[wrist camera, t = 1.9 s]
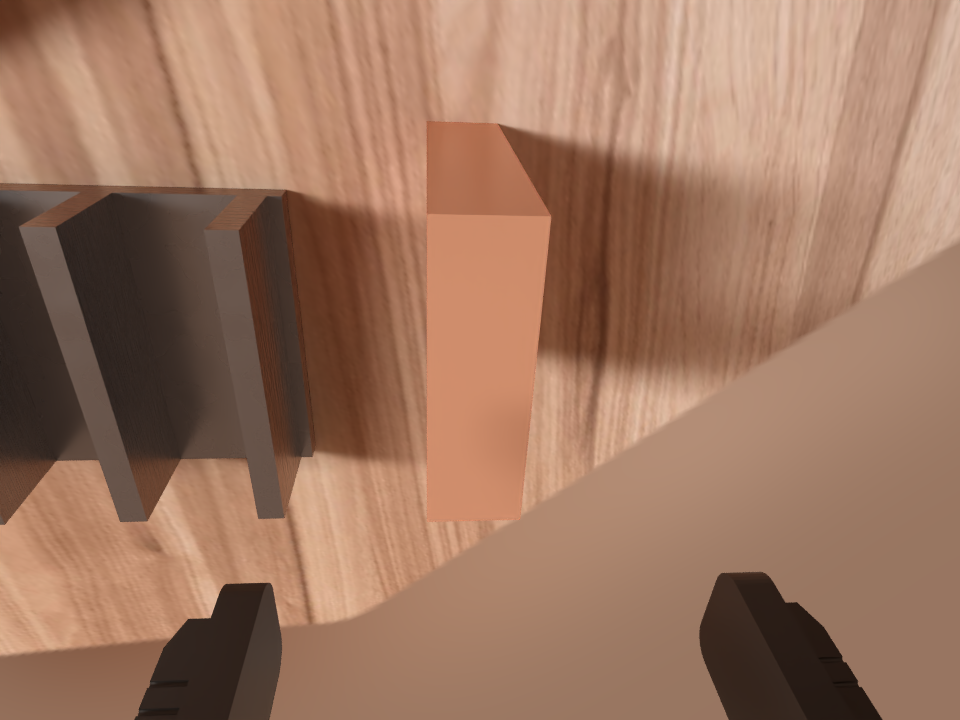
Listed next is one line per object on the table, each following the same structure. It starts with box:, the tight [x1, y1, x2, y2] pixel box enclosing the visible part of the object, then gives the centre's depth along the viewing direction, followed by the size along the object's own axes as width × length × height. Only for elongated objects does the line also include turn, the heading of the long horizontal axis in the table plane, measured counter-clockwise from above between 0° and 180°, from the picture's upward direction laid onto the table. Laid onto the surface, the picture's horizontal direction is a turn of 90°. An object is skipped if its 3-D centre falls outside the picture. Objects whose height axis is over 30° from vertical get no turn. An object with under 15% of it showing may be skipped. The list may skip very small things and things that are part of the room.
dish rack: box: [0, 183, 315, 525], centre depth 27 cm, size 14×15×6 cm
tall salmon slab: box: [427, 121, 551, 522], centre depth 23 cm, size 10×3×13 cm, turn 178°
